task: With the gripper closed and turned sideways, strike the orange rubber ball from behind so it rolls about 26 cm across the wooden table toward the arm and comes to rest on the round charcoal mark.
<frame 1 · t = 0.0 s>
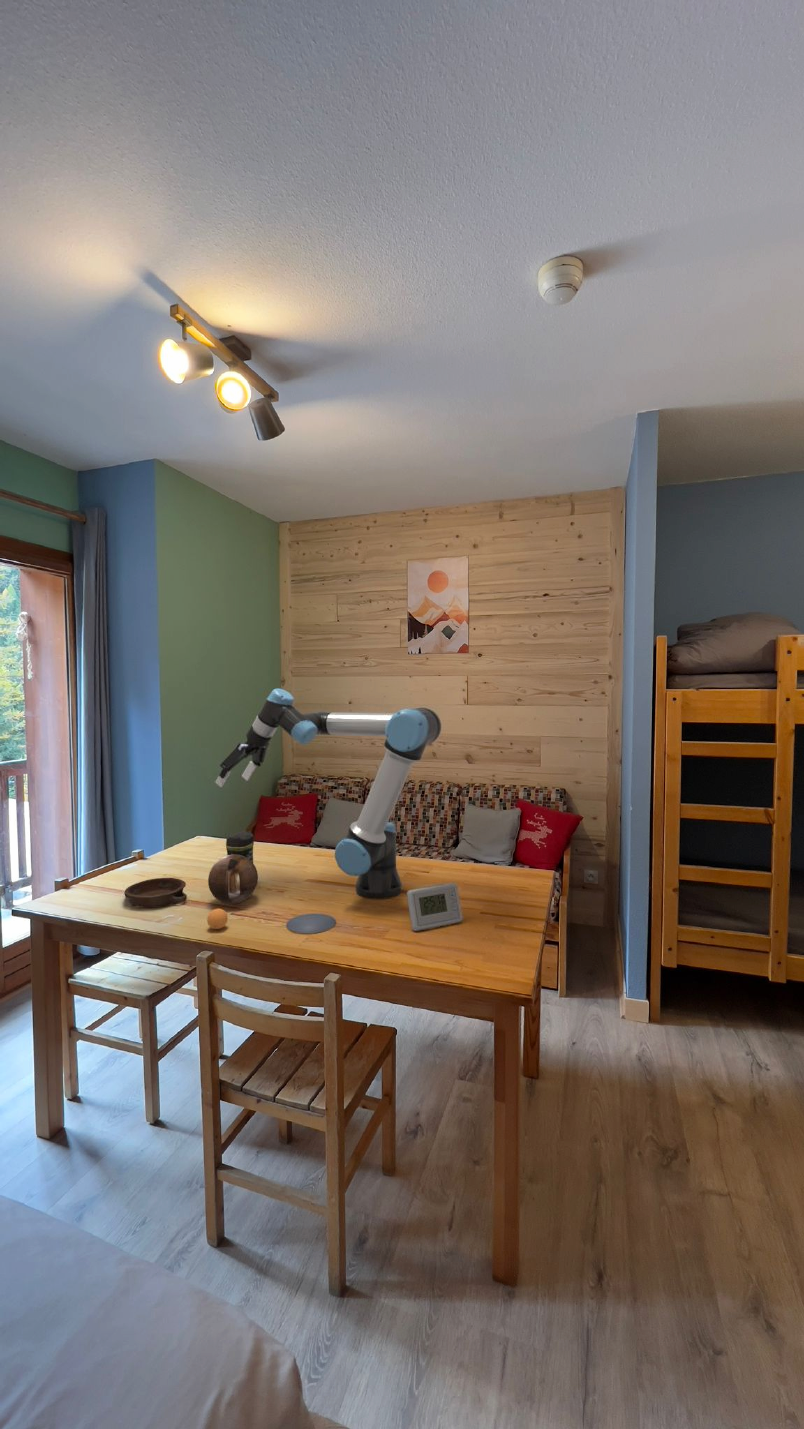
hand: (231, 781, 200), 36 cm above the table, tool tilted 35°, fingers open, 13 cm apart
ball: (217, 918, 167), on the table
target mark: (311, 923, 170), on the table
coffee jar: (241, 887, 201), on the table
dish: (156, 902, 189), on the table
wooden sphere: (233, 903, 187), on the table
digital clock: (434, 925, 168), on the table
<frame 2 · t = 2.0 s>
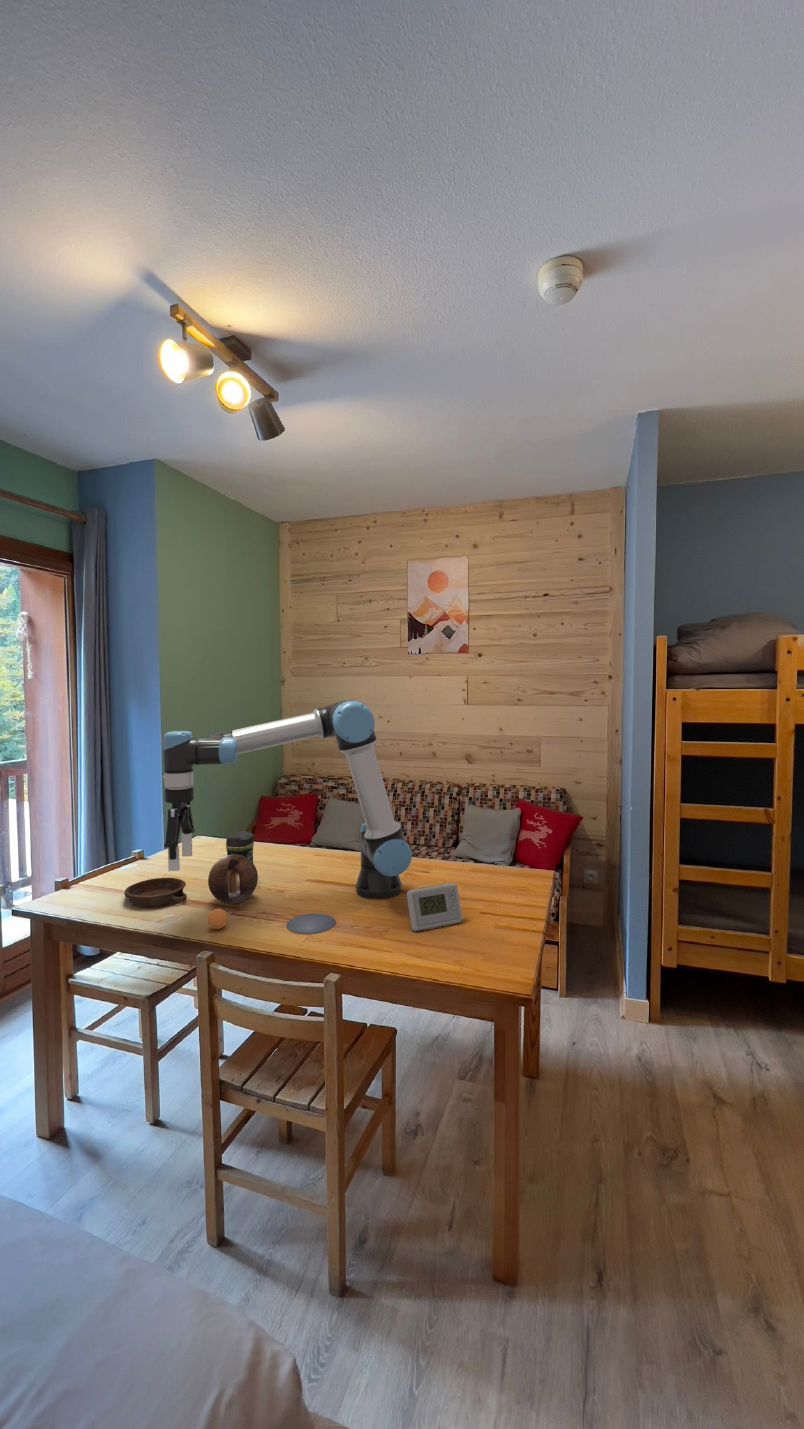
hand: (180, 863, 165), 19 cm above the table, tool pointing down, fingers open, 13 cm apart
nothing on the table moved.
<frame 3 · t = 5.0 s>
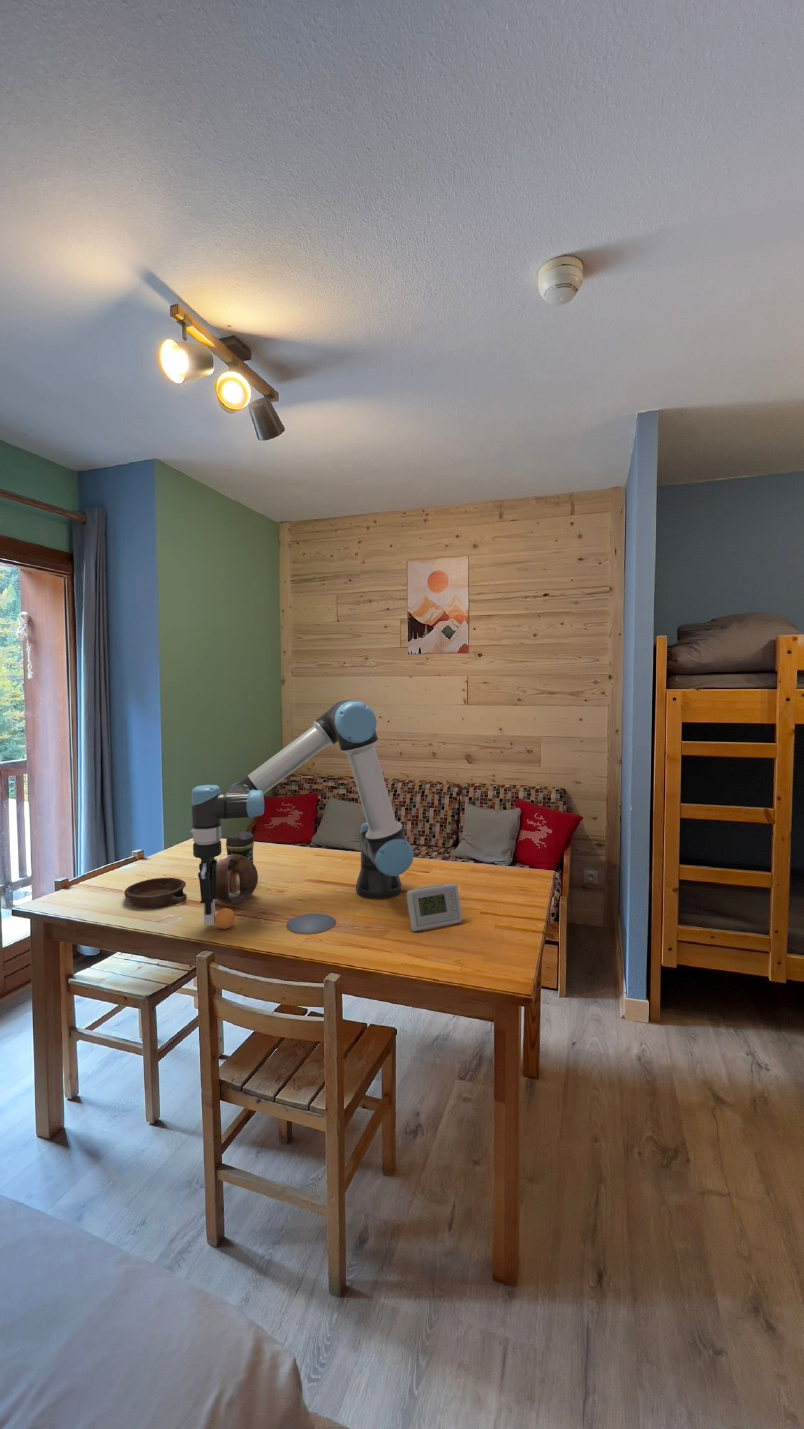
hand: (209, 923, 167), 1 cm above the table, tool pointing down, fingers closed
ball: (224, 918, 167), on the table
everything else where it was.
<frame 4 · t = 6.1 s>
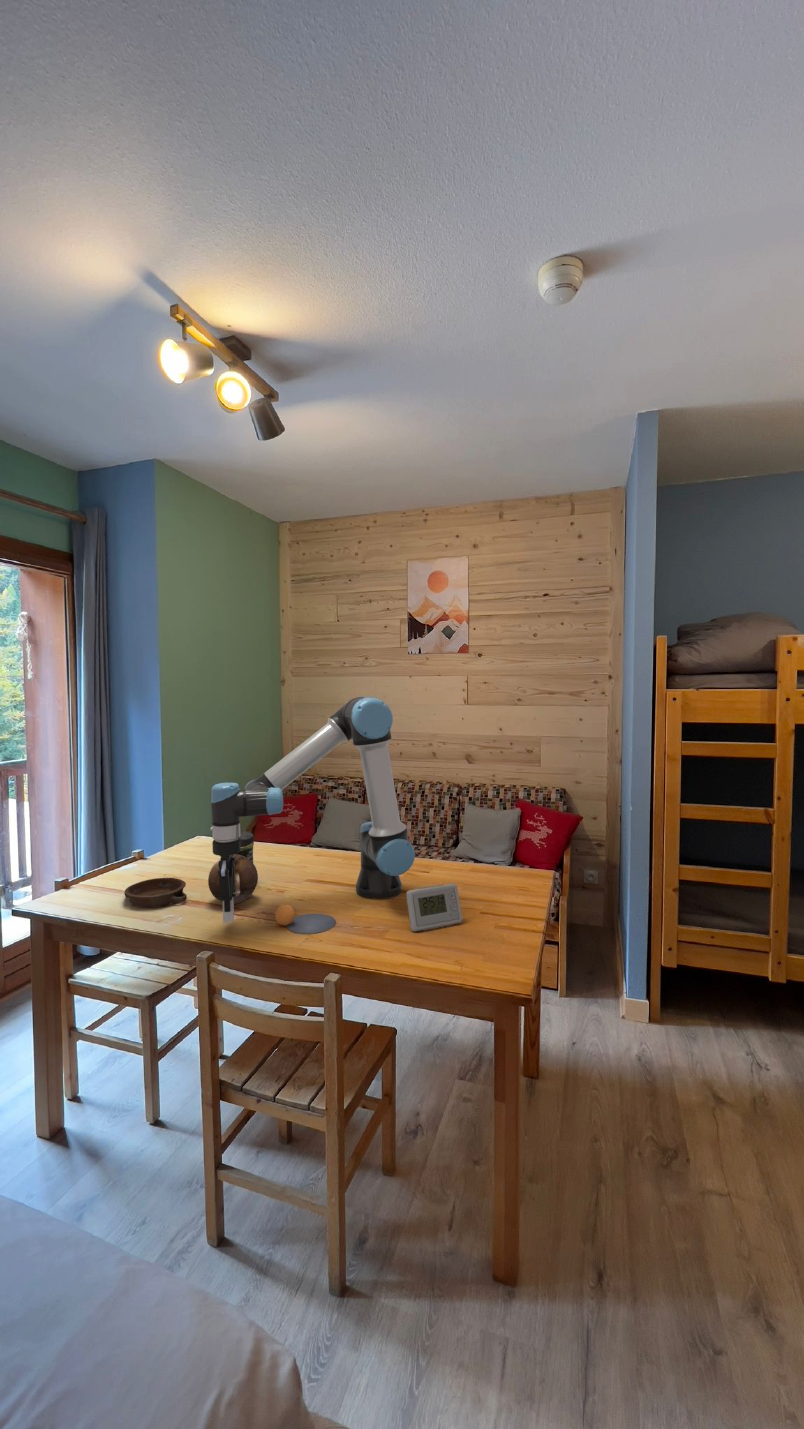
hand: (228, 921, 167), 2 cm above the table, tool pointing down, fingers closed
ball: (285, 915, 169), on the table
everything else where it was.
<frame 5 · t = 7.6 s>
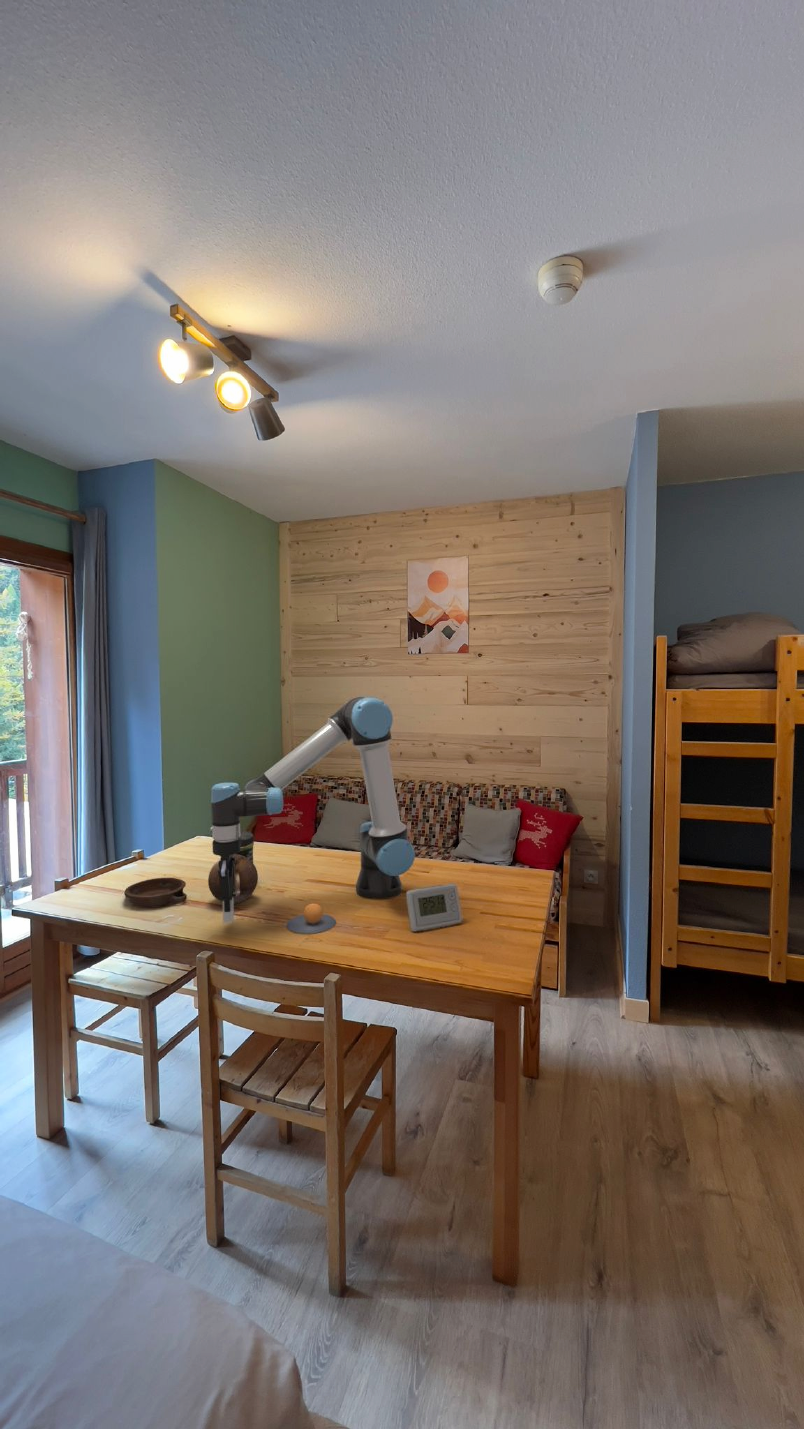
hand: (228, 921, 167), 2 cm above the table, tool pointing down, fingers closed
ball: (313, 913, 170), on the table
everything else where it was.
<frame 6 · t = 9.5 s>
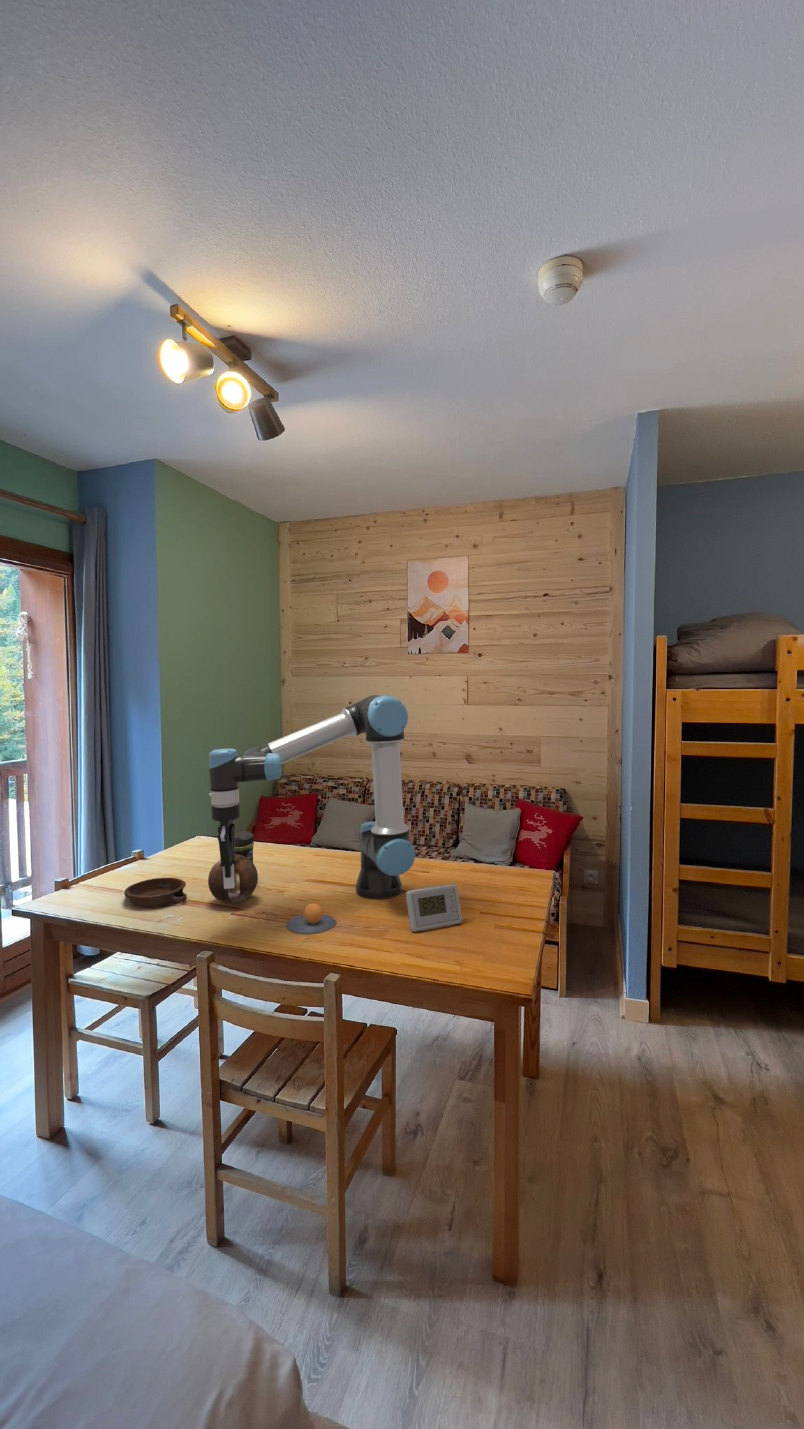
hand: (229, 887, 167), 12 cm above the table, tool pointing down, fingers closed
nothing on the table moved.
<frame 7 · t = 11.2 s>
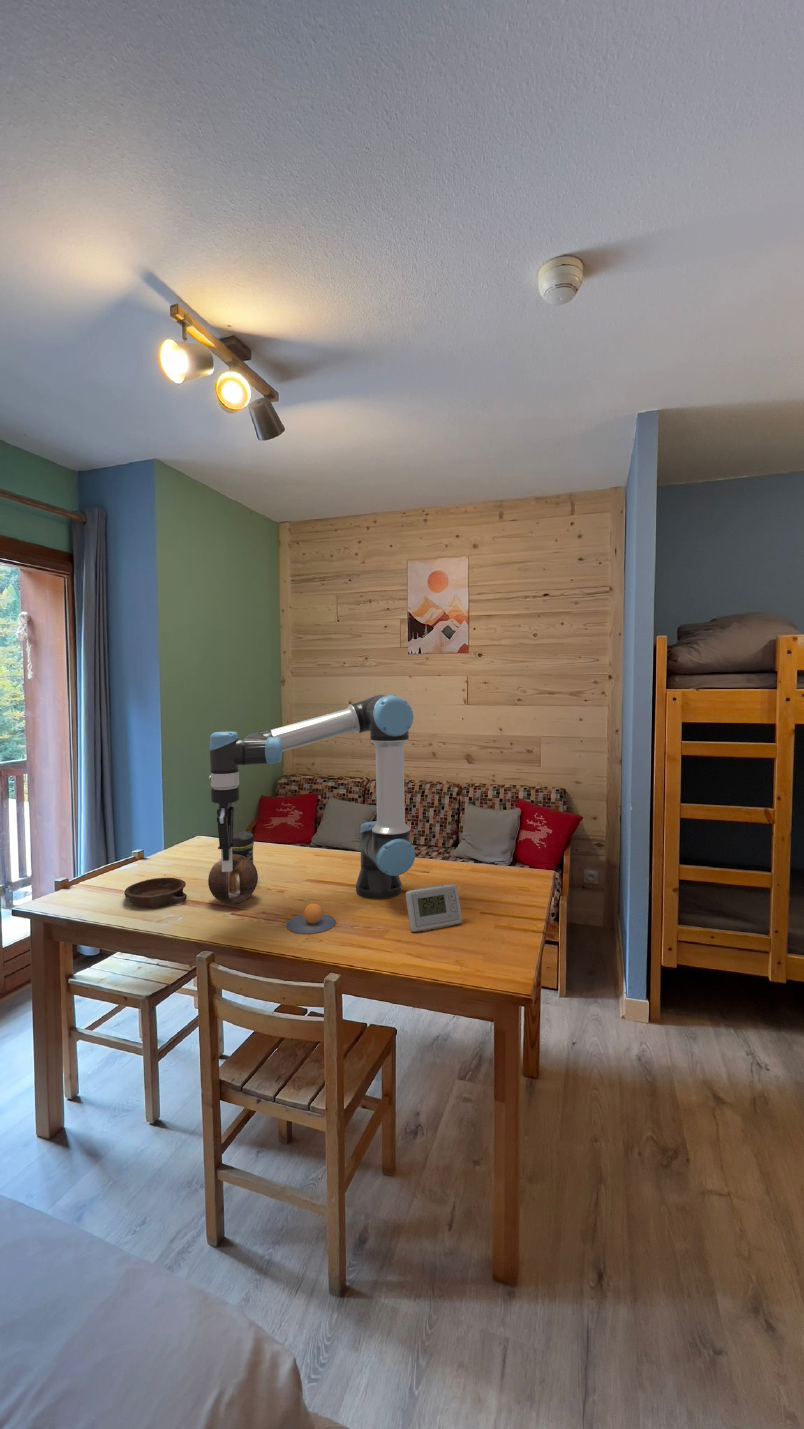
hand: (227, 870, 166), 16 cm above the table, tool pointing down, fingers closed
nothing on the table moved.
at the end: ball 0.7 cm from the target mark (horizontally); ball at rest at the end (0.0 cm/s); ball moved 26.6 cm from its start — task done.
